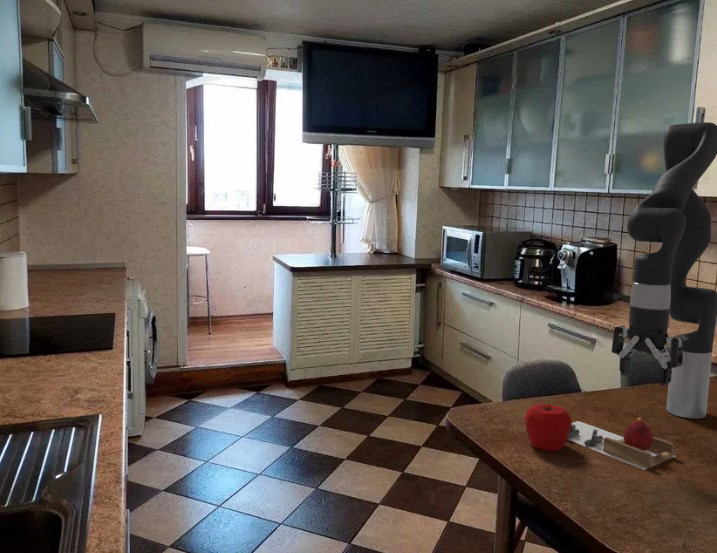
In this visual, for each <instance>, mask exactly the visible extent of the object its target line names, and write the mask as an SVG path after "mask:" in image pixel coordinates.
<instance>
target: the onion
mask: <svg viewBox="0 0 717 553" xmlns="http://www.w3.org/2000/svg"><path fill="white" fill-rule="evenodd" d="M623 437H624V441H625V443H626V444H627V445H629V446H632V447H635V448H638V449H640V450H643V451H646V450H648V449H649V448H650V447H651V446H652V443H653V438H654V437H655V436H654V433H653V431H652V429H651V428H650V426H648V424H646V423H645V422H644V420H643V417H637V419H636V421H634V422H631V423H630V424H629V425H627V426H626V428H625V429H624V432H623Z"/></svg>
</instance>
